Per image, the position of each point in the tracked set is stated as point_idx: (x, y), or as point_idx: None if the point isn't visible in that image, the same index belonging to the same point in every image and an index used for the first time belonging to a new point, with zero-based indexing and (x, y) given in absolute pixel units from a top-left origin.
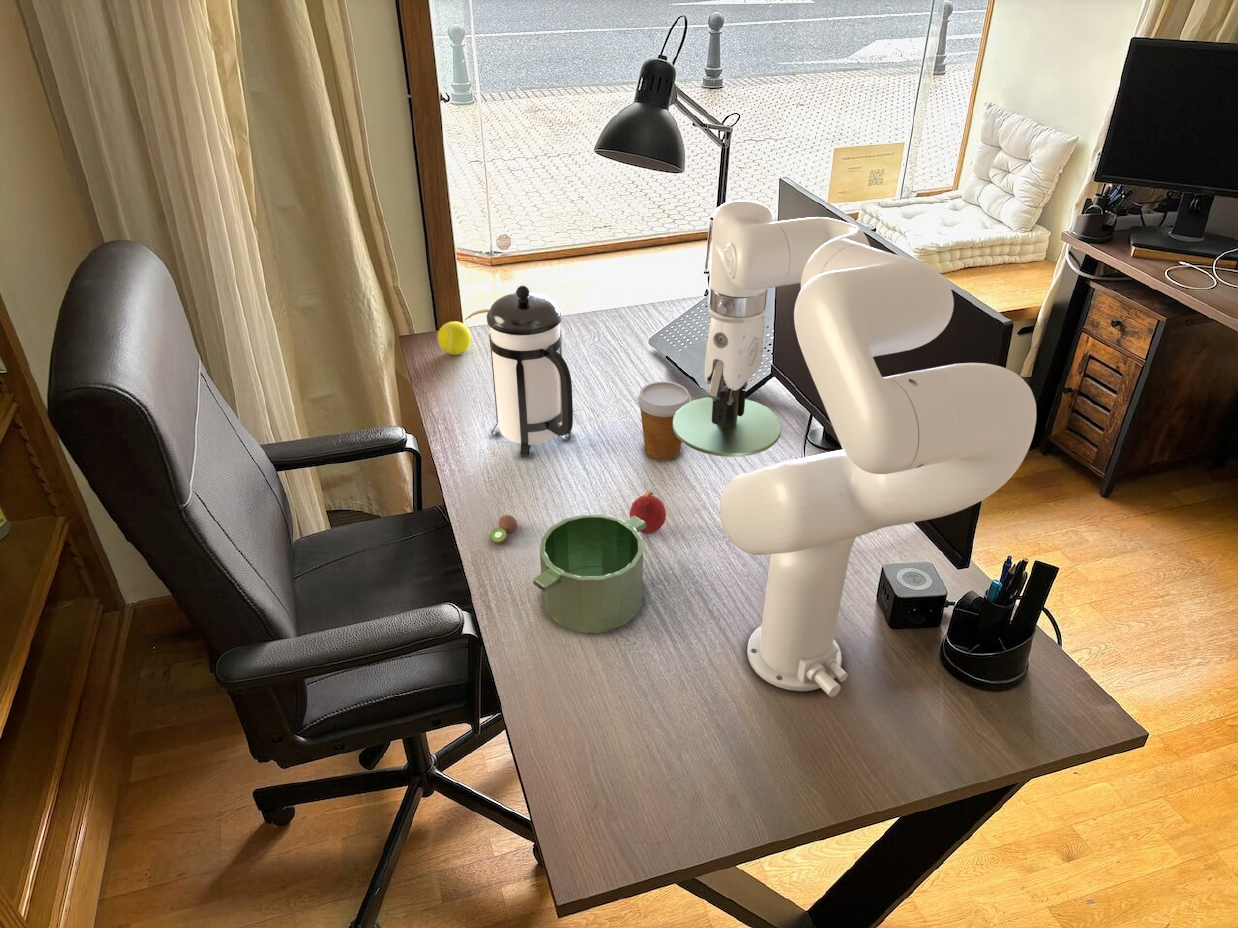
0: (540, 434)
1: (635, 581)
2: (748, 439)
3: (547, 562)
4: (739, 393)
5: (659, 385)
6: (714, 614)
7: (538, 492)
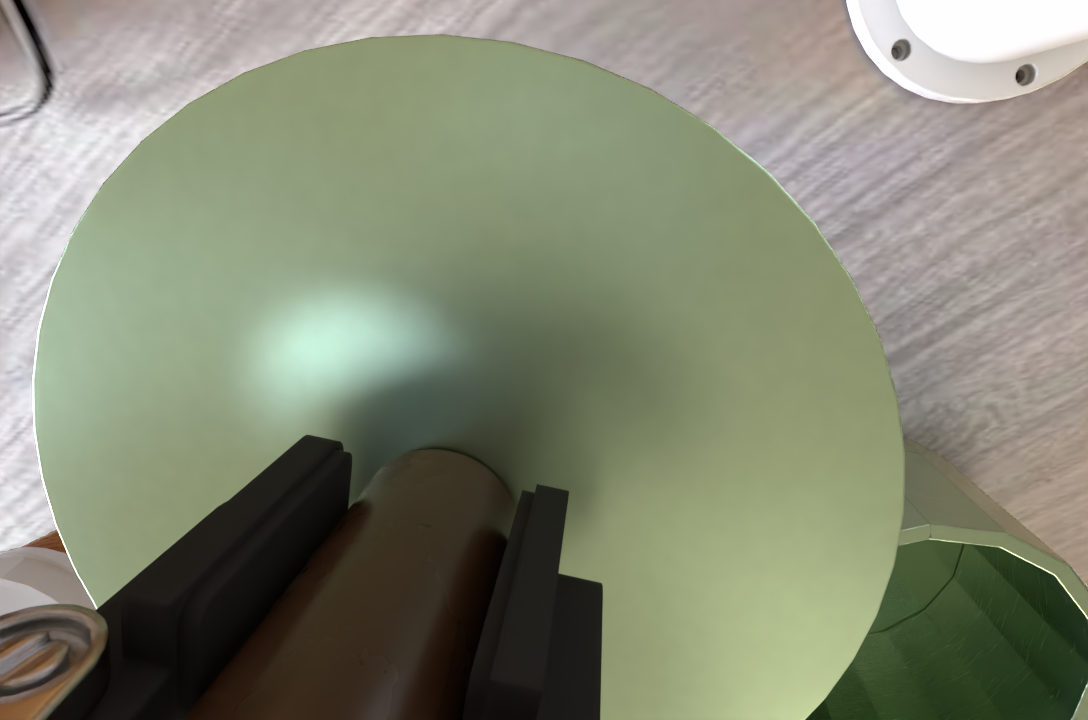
0: None
1: (961, 492)
2: (632, 313)
3: None
4: (205, 647)
5: None
6: (839, 231)
7: None
